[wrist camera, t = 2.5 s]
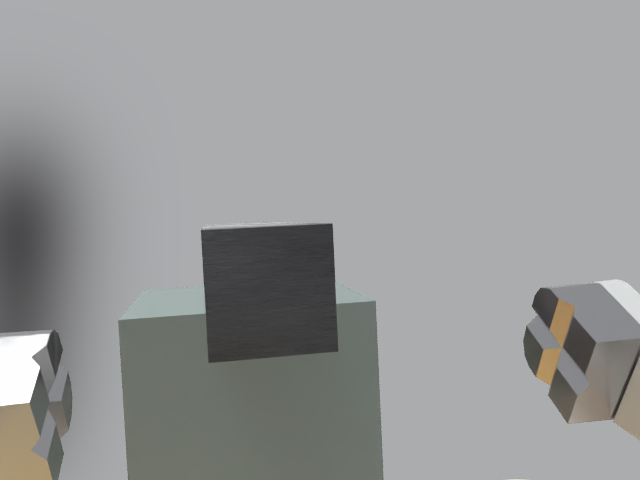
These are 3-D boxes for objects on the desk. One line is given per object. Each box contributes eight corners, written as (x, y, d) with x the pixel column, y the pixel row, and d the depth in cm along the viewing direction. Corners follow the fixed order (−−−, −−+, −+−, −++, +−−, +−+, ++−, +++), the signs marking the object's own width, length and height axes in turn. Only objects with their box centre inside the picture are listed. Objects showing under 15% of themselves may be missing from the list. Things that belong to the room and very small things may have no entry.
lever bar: (338, 351, 19) (332, 223, 19) (208, 363, 18) (200, 230, 18) (266, 279, 43) (263, 222, 42) (208, 283, 42) (204, 224, 42)
